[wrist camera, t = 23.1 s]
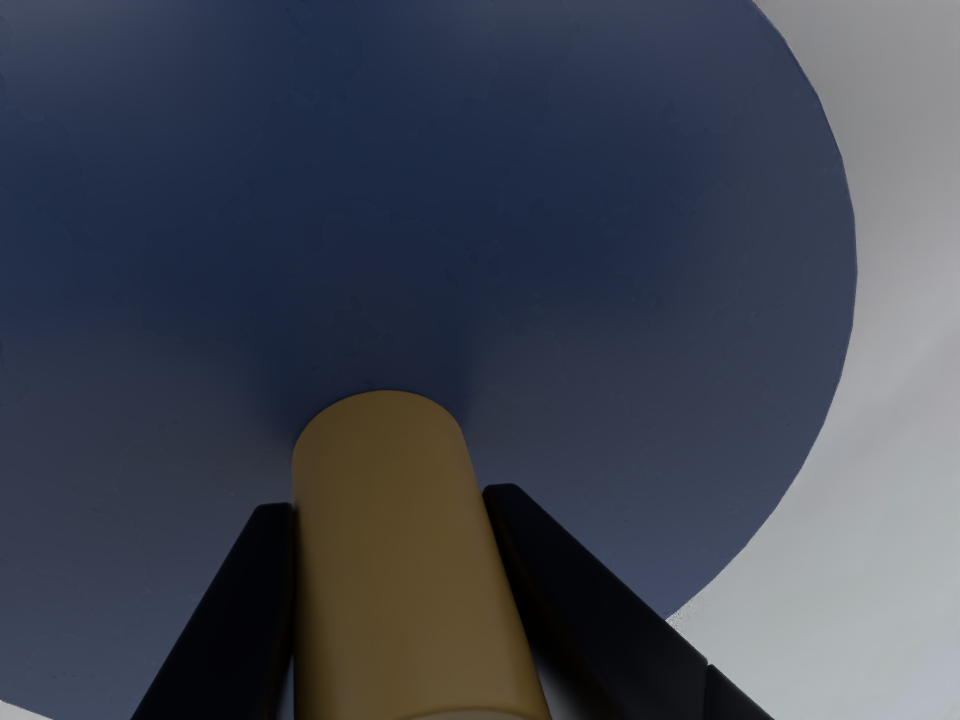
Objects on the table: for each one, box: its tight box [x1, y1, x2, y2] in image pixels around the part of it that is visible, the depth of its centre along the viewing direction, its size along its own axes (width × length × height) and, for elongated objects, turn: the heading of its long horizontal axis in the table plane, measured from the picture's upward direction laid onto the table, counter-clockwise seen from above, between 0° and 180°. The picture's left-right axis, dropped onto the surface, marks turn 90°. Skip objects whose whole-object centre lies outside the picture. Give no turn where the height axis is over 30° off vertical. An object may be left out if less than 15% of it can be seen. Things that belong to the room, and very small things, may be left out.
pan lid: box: [0, 0, 857, 720], centre depth 9 cm, size 14×14×6 cm
